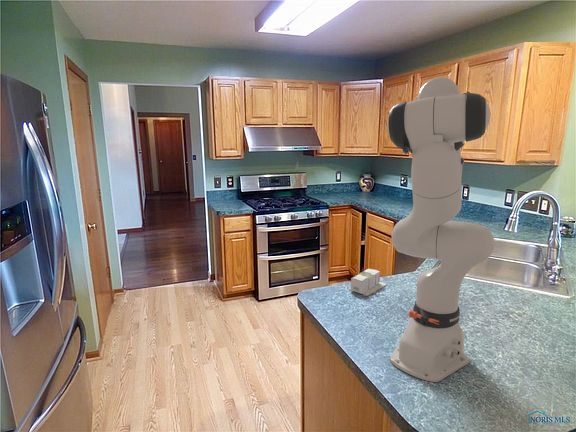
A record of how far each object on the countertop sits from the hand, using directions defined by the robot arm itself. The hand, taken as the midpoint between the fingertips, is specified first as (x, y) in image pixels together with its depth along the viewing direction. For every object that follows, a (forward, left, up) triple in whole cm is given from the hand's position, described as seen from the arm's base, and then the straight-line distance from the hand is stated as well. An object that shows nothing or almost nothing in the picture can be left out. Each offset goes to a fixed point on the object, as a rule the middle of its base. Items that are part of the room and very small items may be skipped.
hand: (444, 198), depth 127 cm
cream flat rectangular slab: (-11, +26, -39) cm, 48 cm away
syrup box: (-19, +26, -36) cm, 48 cm away
